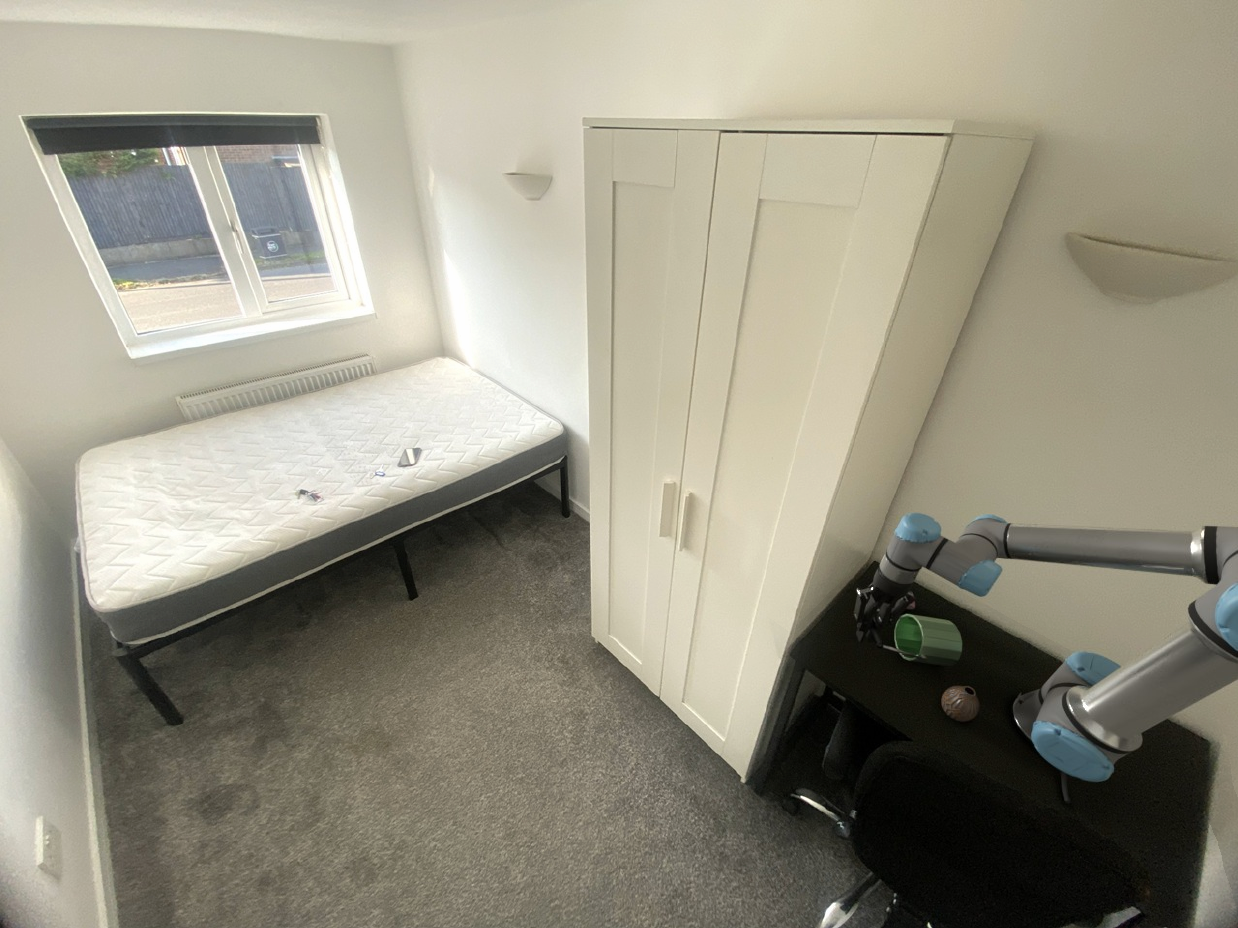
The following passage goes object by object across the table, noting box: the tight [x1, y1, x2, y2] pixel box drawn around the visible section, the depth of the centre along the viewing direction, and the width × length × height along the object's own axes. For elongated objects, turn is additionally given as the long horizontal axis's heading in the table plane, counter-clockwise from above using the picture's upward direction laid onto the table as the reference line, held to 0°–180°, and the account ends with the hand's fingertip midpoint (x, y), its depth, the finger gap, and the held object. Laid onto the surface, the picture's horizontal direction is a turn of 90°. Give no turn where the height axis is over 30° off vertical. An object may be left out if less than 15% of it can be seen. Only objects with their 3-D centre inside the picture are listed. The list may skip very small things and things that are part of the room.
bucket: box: [869, 608, 963, 667], centre depth 126 cm, size 11×13×22 cm
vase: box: [940, 685, 980, 723], centre depth 115 cm, size 7×7×9 cm
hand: (863, 637), depth 127 cm, fingers closed on bucket, 2 cm apart
